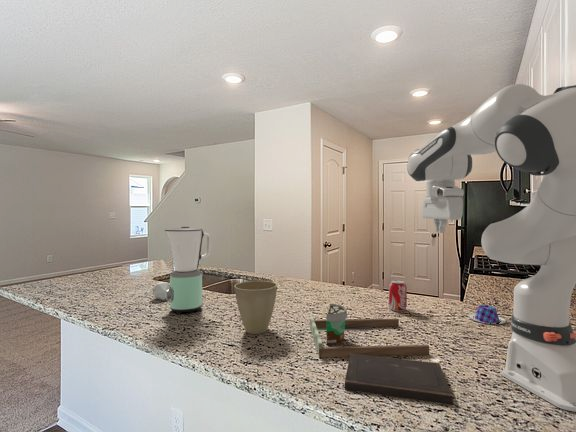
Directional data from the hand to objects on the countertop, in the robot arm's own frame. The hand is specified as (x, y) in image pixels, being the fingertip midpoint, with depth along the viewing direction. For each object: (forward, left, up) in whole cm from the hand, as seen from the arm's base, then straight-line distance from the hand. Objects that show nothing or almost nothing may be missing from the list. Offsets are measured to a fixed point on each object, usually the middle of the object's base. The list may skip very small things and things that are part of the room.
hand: (440, 232), depth 111 cm
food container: (-5, +36, -34) cm, 50 cm away
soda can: (+25, +5, -34) cm, 43 cm away
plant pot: (+5, +63, -34) cm, 72 cm away
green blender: (+30, +93, -34) cm, 104 cm away
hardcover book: (-30, +27, -35) cm, 53 cm away
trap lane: (-5, +28, -34) cm, 44 cm away
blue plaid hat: (+11, -24, -35) cm, 44 cm away
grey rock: (+48, +110, -34) cm, 125 cm away
